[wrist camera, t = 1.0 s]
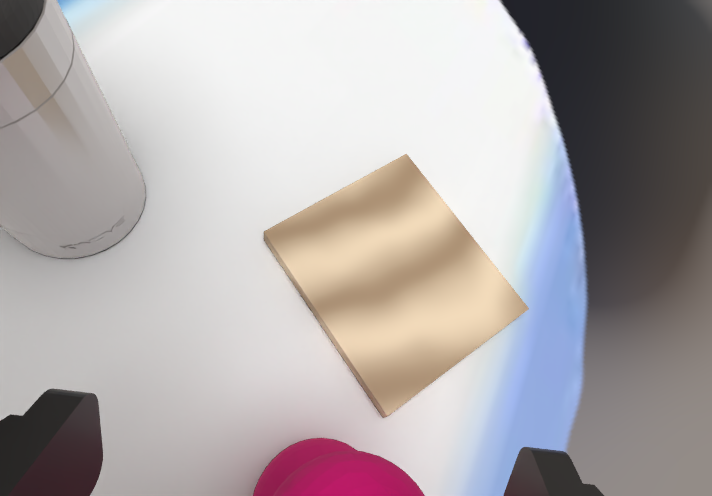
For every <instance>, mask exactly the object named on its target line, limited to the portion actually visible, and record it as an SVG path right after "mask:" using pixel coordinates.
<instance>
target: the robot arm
mask: <svg viewBox="0 0 712 496" xmlns="http://www.w3.org/2000/svg"><path fill="white" fill-rule="evenodd" d="M145 198H146V194H145V184H144V181H143V178H142V175H141V172H140V170H139V168H138V166H137V164H136V162H135V160H134V158H133V156H132V154H131V152H130V150H129V148H128V145H127V143H126V141H125V139H124V137H123V135H122V133H121V131H120V129H119V126H118V124H117V122H116V120H115V118H114V116H113V114H112V112H111V110H110V108H109V106H108V104H107V102H106V100H105V98H104V96H103V94H102V92H101V90H100V87H99V85H98V83H97V81H96V79H95V77H94V75H93V73H92V71H91V69H90V67H89V65H88V63H87V61H86V59H85V57H84V55H83V53H82V50H81V48H80V46H79V44H78V42H77V40H76V38H75V36H74V34H73V32H72V30H71V28H70V26H69V24H68V22H67V20H66V18H65V16H64V14H63V12H62V10H61V8H60V6H59V4H58V2H57V0H0V226H1V227H2V228H3V229H5V230H6V231H7V232H8V233H10V234H11V235H12V236H13V237H14V238H16V239H17V240H18V241H19V242H21V243H22V244H23V245H25V246H26V247H28V248H29V249H31V250H32V251H35V252H37V253H40V254H43V255H45V256H50V257H56V258H79V257H84V256H89V255H93V254H95V253H98V252H100V251H103V250H105V249H107V248H109V247H111V246H112V245H114V244H116V243H117V242H119V241H120V240H121V239H122V238H123V237H125V236H126V235H127V234H128V233H129V232H130V231H131V230H132V228H133V227H134V225H135V224H136V223H137V221H138V220H139V218H140V215H141V213H142V211H143V208H144V203H145ZM102 461H103V448H102V438H101V427H100V416H99V405H98V399H97V397H96V395H95V394H93V393H85V392H76V391H68V390H60V389H49V390H47V391H46V392H44V393H43V394H42V395H41V396H40V397H39V398H38V400H37V401H36V402H35V403H34V404H33V405H32V406H31V407H30V409H29V410H28V411H27V412H26V413H25V414H24V415H23V416H18V415H9V416H7V417H6V418H4V419H3V420H1V421H0V496H90V494H91V493H92V491H93V489H94V487H95V485H96V483H97V480H98V477H99V474H100V471H101V467H102ZM503 496H604V495H603V494H602V493H601V492H600V491H599V490H598V489H597V487H596V486H595V485H590V484H583V483H582V481H581V479H580V477H579V475H578V473H577V471H576V469H575V467H574V465H573V462H572V460H571V459H570V457H569V456H568V454H567V453H565V452H563V451H556V450H548V449H539V448H531V447H523V448H522V449H521V450H520V452H519V454H518V457H517V459H516V462H515V465H514V468H513V470H512V473H511V476H510V479H509V482H508V484H507V487H506V490H505V493H504V495H503Z"/></svg>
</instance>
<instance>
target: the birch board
mask: <svg viewBox="0 0 712 496" xmlns="http://www.w3.org/2000/svg"><path fill="white" fill-rule="evenodd" d="M264 241H265V242H266V244H267V245H268V247H269V248H270V250H271V251H272V253H273V254H274V256H275V257H276V259H277V260H278V262H279V263H280V265H281V266H282V268H283V269H284V271H285V272H286V274H287V275H288V277H289V278H290V280H291V281H292V283H293V284H294V285H295V287H296V288H297V290H298V291H299V293H300V294H301V296H302V297H303V299H304V300H305V302H306V303H307V305H308V306H309V308H310V309H311V311H312V312H313V314H314V315H315V317H316V318H317V320H318V321H319V323H320V324H321V326H322V327H323V329H324V330H325V332H326V333H327V335H328V336H329V338H330V339H331V341H332V342H333V344H334V345H335V347H336V348H337V350H338V351H339V353H340V354H341V356H342V357H343V359H344V360H345V362H346V363H347V365H348V366H349V368H350V369H351V371H352V372H353V374H354V375H355V377H356V378H357V380H358V381H359V383H360V384H361V386H362V387H363V389H364V390H365V392H366V393H367V395H368V396H369V398H370V399H371V401H372V402H373V404H374V405H375V407H376V408H377V410H378V411H379V413H380V414H381V416H382V417H387V416H389V415H390V414H391V413H393V412H394V411H395V410H396V409H398V408H399V407H400V406H402V405H403V404H404V403H406V402H407V401H408V400H410V399H411V398H412V397H414V396H415V395H416V394H418V393H419V392H420V391H421V390H423V389H424V388H425V387H427V386H428V385H429V384H431V383H432V382H433V381H435V380H436V379H437V378H439V377H440V376H441V375H443V374H444V373H445V372H446V371H448V370H449V369H450V368H452V367H453V366H454V365H456V364H457V363H458V362H460V361H461V360H462V359H464V358H465V357H466V356H467V355H469V354H470V353H471V352H473V351H474V350H475V349H477V348H478V347H479V346H481V345H482V344H483V343H485V342H486V341H487V340H489V339H490V338H491V337H492V336H494V335H495V334H496V333H498V332H499V331H500V330H502V329H503V328H504V327H506V326H507V325H508V324H510V323H511V322H512V321H514V320H515V319H516V318H517V317H519V316H520V315H521V314H523V313H524V312H525V311H527V310H528V309H529V308H528V307H527V306H526V304H525V303H524V302H523V301H522V299H521V298H520V297H519V295H518V294H517V293H516V292H515V290H514V289H513V288H512V287H511V285H510V284H509V283H508V282H507V280H506V279H505V278H504V277H503V275H502V274H501V273H500V271H499V270H498V269H497V268H496V266H495V265H494V264H493V263H492V261H491V260H490V259H489V258H488V256H487V255H486V254H485V252H484V251H483V250H482V249H481V247H480V246H479V245H478V244H477V242H476V241H475V240H474V239H473V237H472V236H471V235H470V234H469V232H468V231H467V230H466V228H465V227H464V226H463V225H462V223H461V222H460V221H459V220H458V218H457V217H456V216H455V215H454V213H453V212H452V211H451V209H450V208H449V207H448V206H447V204H446V203H445V202H444V201H443V199H442V198H441V197H440V196H439V194H438V193H437V192H436V191H435V189H434V188H433V187H432V185H431V184H430V183H429V182H428V180H427V179H426V178H425V177H424V175H423V174H422V173H421V172H420V170H419V169H418V168H417V167H416V165H415V164H414V163H413V161H412V160H411V159H410V158H409V156H408V155H407V154H405V155H403V156H401V157H400V158H398V159H396V160H394V161H392V162H390V163H389V164H387V165H385V166H383V167H381V168H379V169H378V170H376V171H374V172H372V173H370V174H368V175H367V176H365V177H363V178H361V179H359V180H357V181H356V182H354V183H352V184H350V185H348V186H347V187H345V188H343V189H341V190H339V191H337V192H336V193H334V194H332V195H330V196H328V197H326V198H325V199H323V200H321V201H319V202H317V203H315V204H314V205H312V206H310V207H308V208H306V209H304V210H303V211H301V212H299V213H297V214H295V215H293V216H292V217H290V218H288V219H286V220H284V221H282V222H281V223H279V224H277V225H275V226H273V227H271V228H270V229H268V230H266V231H264Z"/></svg>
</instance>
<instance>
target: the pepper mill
mask: <svg viewBox="0 0 712 496" xmlns="http://www.w3.org/2000/svg"><path fill="white" fill-rule="evenodd" d="M253 496H425V495H424V494H423V492H422V491H421V490H420V488H419V487H418V485H417V484H416V483H415V482H414V481H413V480H412V479H411V478H410V477H409V476H408V475H407V473H406V472H404V471H403V470H402V469H400V468H399V467H397V466H396V465H395V464H393V463H392V462H390V461H388V460H386V459H384V458H382V457H380V456H376V455H373V454H370V453H366V452H362V451H357V450H356V449H354V448H352V447H351V446H349V445H347V444H346V443H343V442H340V441H337V440H334V439H326V438H315V439H308V440H304V441H300V442H298V443H295V444H293V445H291V446H289V447H288V448H286V449H285V450H283V451H282V452H280V453H279V454H278V455H277V456H276V457H275V458H274V459H273V460H272V461H271V462H270V463H269V465H268V466H267V467H266V468H265V470H264V472H263V473H262V475H261V477H260V478H259V480H258V483H257V485H256V488H255V490H254V494H253Z"/></svg>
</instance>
